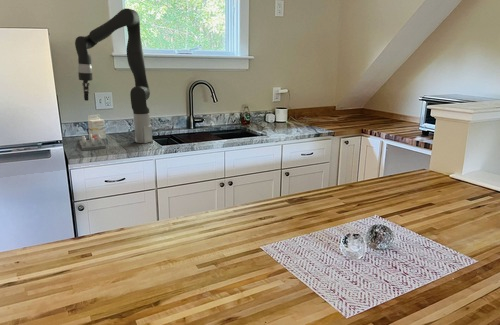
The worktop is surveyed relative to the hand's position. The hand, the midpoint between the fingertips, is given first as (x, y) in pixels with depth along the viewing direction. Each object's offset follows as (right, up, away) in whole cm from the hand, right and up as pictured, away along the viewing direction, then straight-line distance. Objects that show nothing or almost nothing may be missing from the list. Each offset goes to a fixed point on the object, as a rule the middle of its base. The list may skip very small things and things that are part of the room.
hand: (86, 99), depth 232 cm
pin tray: (+7, -28, -9) cm, 31 cm away
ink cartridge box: (+3, -23, +10) cm, 25 cm away
